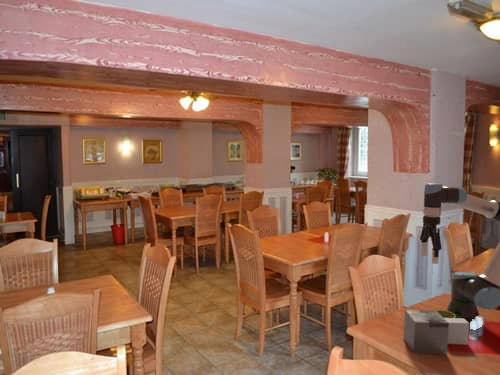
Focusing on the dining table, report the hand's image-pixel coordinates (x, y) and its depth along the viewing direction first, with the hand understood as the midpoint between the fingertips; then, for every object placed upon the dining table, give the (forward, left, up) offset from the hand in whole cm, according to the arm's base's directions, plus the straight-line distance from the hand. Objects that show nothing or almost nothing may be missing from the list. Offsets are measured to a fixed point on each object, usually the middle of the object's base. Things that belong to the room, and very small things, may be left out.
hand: (429, 259), depth 194 cm
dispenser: (+7, +18, -35) cm, 40 cm away
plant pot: (-8, +2, -35) cm, 36 cm away
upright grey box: (-8, +12, -35) cm, 38 cm away
